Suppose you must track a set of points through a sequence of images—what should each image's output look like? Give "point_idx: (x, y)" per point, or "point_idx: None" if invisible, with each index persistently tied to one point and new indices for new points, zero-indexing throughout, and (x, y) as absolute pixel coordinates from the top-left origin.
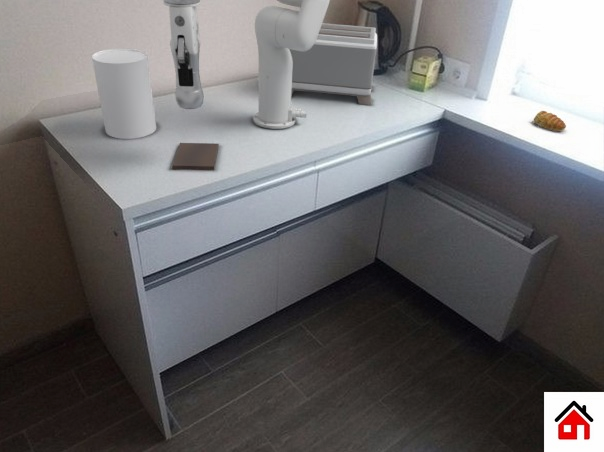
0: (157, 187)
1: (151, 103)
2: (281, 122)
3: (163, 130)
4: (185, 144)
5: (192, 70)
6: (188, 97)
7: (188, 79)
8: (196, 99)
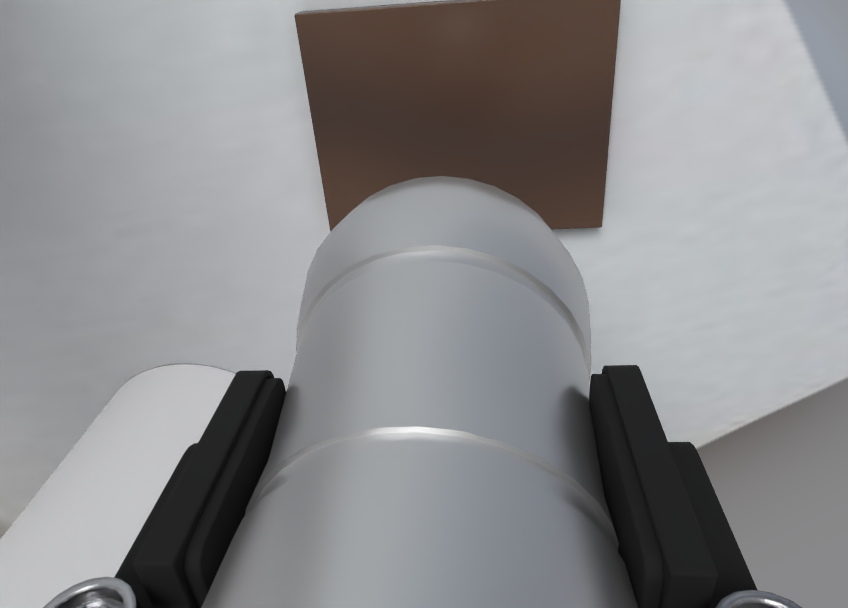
0: (778, 249)
1: (137, 464)
2: None
3: (181, 333)
4: (347, 207)
5: (687, 541)
6: (590, 334)
7: (704, 479)
8: (560, 250)
